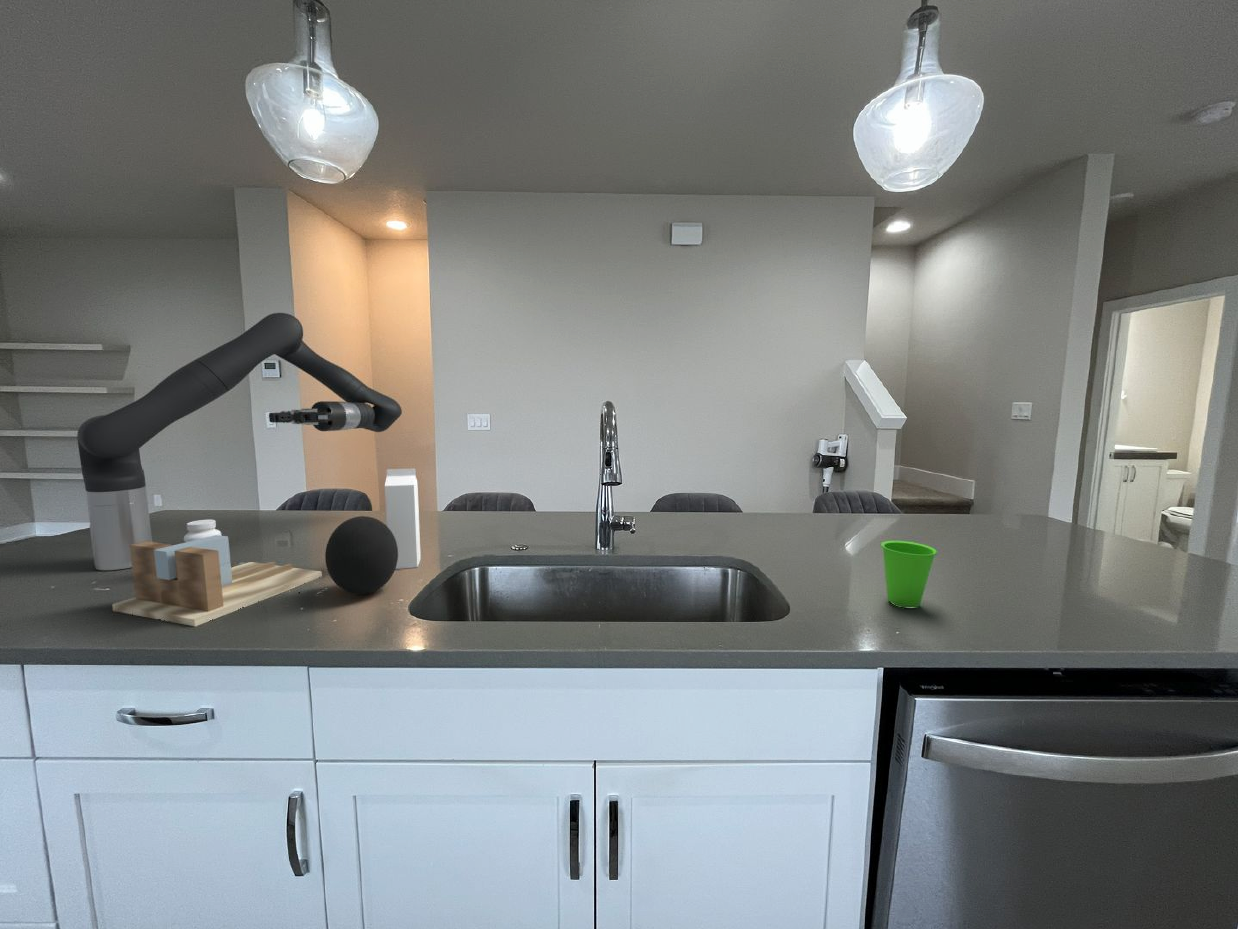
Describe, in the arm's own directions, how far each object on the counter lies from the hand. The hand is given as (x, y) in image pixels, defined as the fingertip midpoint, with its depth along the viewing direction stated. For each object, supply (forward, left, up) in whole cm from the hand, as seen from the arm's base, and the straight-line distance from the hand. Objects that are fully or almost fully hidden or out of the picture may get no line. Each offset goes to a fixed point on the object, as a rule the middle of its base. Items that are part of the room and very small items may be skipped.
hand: (271, 417), depth 109 cm
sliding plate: (+8, -23, -32) cm, 40 cm away
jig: (+8, -18, -33) cm, 38 cm away
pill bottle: (-8, -11, -33) cm, 36 cm away
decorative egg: (+33, -10, -33) cm, 48 cm away
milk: (+29, +6, -33) cm, 44 cm away
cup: (+133, +16, -33) cm, 138 cm away
